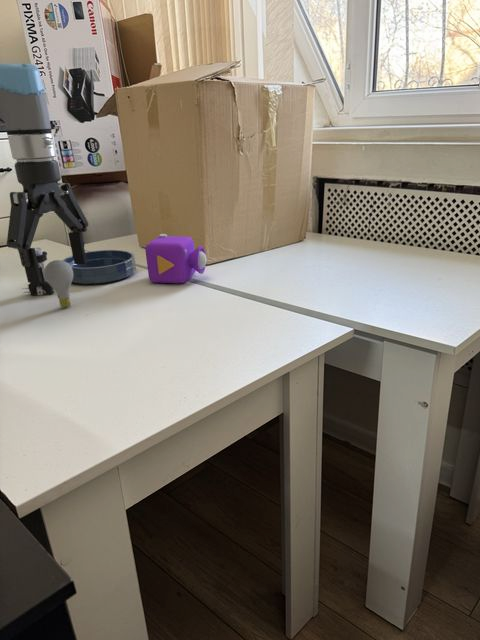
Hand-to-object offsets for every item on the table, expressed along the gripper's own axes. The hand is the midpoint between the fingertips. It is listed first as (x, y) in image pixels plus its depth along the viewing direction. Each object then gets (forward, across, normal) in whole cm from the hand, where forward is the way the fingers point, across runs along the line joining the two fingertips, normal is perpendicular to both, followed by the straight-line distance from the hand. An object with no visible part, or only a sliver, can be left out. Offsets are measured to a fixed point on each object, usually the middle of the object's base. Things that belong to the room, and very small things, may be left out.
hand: (59, 272), depth 102 cm
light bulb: (+8, 0, 0) cm, 8 cm away
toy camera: (+8, +24, -14) cm, 29 cm away
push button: (+8, +6, +12) cm, 16 cm away
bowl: (+7, +22, +7) cm, 24 cm away
